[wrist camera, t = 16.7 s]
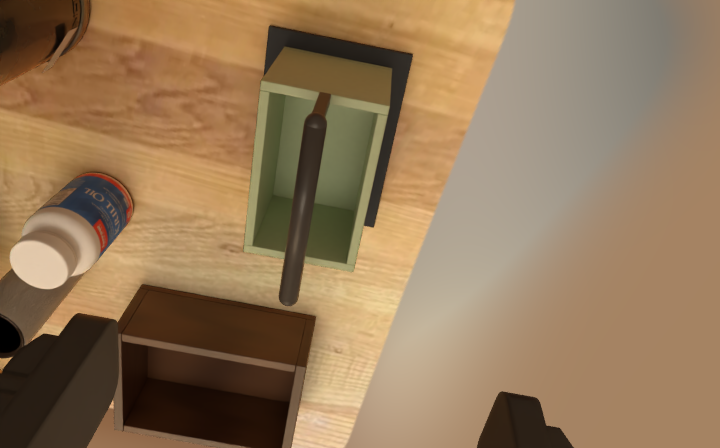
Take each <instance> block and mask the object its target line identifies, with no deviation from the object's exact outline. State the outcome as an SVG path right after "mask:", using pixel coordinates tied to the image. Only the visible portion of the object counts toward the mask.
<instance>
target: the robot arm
mask: <svg viewBox="0 0 720 448" xmlns="http://www.w3.org/2000/svg"><path fill="white" fill-rule="evenodd" d="M89 13H90V3H89V0H0V86H1V85H3V84H5V83H7V82H9V81H11V80H13V79H15V78H16V77H18V76H20V75H22V74H24V73H26V72H28V71H30V70H32V69H34V68H36V67H38V66H39V65H41V64H43V63H45V62H48V61H49V63H48V64H47V66H46V67H45V69H44V71H43V72H45V71H47V70H49V69H50V68H52V67H53V65H54V64H55V62H56V60H57V59H58V57H60V56H62V55H64V54H66V53H67V52H69V51H70V50H71V49H73V48H74V47H75V46H76V45H77V44H78V42H79V41H80V40H81V38H82V37H83V35H84V33H85V30H86V28H87V25H88V20H89ZM43 72H42V73H43ZM118 379H119V348H118V324H117V321H116V320H114V319H109V318H104V317H98V316H93V315H87V314H82V313H77V314H75V315H74V316H73V317H72V319H71V320H70V321H69V323H68V324H67V325H66V327H65V328H64V329H63V331H62V332H61V333H60V335H59V336H55V335H50V334H42V335H41V336H39V337H38V338H36V339H34V340H33V341H31V342H30V343H28V344H27V345H25V346H23V347H22V348H20V349H19V350H18V351H17V353H16V354H15V355H14V356H13V358H12V359H11V360H10V361H9V362H8V364H7V365H6V366H5V367H4V369H3V372H2V374H0V448H87V446H88V444H89V442H90V440H91V439H92V437H93V435H94V433H95V432H96V430H97V428H98V426H99V424H100V422H101V421H102V419H103V417H104V415H105V413H106V412H107V410H108V408H109V406H110V404H111V402H112V400H113V398H114V395H115V392H116V389H117V384H118ZM477 448H574V447H573V446H572V445H571V443H570V442H569V441H568V439H567V438H566V436H565V435H564V433H563V432H562V431H561V429H560V428H557V427H551V426H546V424H545V420H544V416H543V412H542V408H541V404H540V402H539V400H538V399H537V398H535V397H530V396H524V395H518V394H513V393H508V392H500V393H499V394H498V396H497V398H496V400H495V402H494V405H493V407H492V410H491V412H490V414H489V417H488V419H487V421H486V424H485V426H484V429H483V431H482V433H481V436H480V438H479V441H478V445H477Z"/></svg>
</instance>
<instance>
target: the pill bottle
mask: <svg viewBox="0 0 720 448" xmlns="http://www.w3.org/2000/svg"><path fill="white" fill-rule="evenodd" d="M132 213H133V204H132V200H131V197H130V195H129V193H128V192H127V190H126V189H125V187H124V186H123V185H122V184H121V183H120V182H118V181H117V180H116V179H114V178H112V177H110V176H108V175H105V174H101V173H86V174H82V175H80V176H78V177H76V178H75V179H73V180H72V181H71V182H70V183H68V184H67V185H66V186H65V187H64V188H63V189H62V190H60V191H59V192H58V193H57V194H56V195H54V196H53V197H52V198H51V199H50V200H49V201H48V202H47V203H46V204H44V205H43V206H42V207H41V208H40V209H39V210H38V211H36V212H35V213H34V214H33V215H32V216H31V217H30V218H29V219H28V220H27V221H26V223H25V225H24V227H23V230H22V238H21V239H20V240H19V241H18V242H17V243H16V244H15V245H14V246H13V248H12V250H11V252H10V263H11V266H12V268H13V270H14V272H15V273H16V274H17V275H18V276H19V277H20V278H21V279H22V280H23V281H25V282H26V283H28V284H29V285H32V286H34V287H37V288H41V289H53V288H57V287H59V286H61V285H62V284H64V283H65V282H66V280H67V279H68V278H69V277H70V276H76V275H80V274H82V273H84V272H86V271H87V270H89V269H90V268H91V267H92V266H93V265H94V264H95V263H96V262H97V260H98V259H99V258H100V257H101V255H102V254H103V253H104V252H105V251H106V249H107V248H108V247H109V246H110V245H111V243H112V242H113V241H114V240H115V239H116V237H117V236H118V235H119V234H120V233H121V231H122V230H123V229H124V228H125V227H126V225H127V224H128V222H129V221H130V219H131V217H132Z"/></svg>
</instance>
